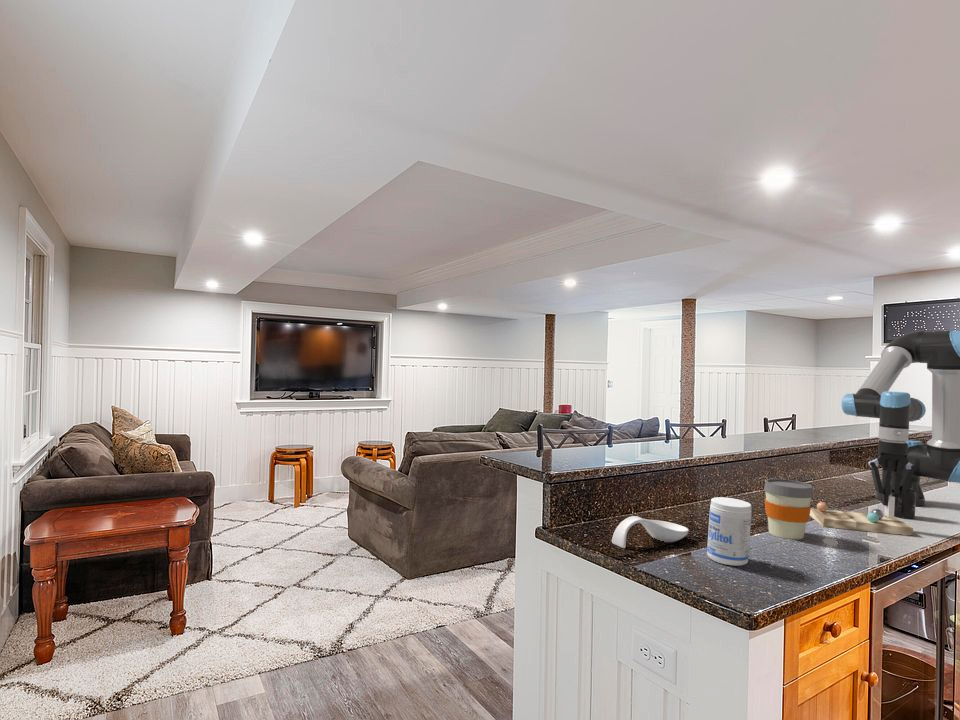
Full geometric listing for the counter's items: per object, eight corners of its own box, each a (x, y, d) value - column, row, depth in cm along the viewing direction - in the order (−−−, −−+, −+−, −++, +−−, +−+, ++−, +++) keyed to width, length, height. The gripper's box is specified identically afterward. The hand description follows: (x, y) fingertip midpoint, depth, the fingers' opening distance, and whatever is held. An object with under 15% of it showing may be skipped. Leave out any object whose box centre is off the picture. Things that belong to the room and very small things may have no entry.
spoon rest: (663, 530, 164) (664, 506, 164) (697, 543, 154) (698, 516, 154) (602, 540, 153) (603, 514, 152) (634, 555, 142) (635, 526, 142)
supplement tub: (701, 559, 141) (704, 500, 140) (713, 550, 148) (716, 494, 148) (742, 570, 134) (745, 509, 134) (753, 560, 142) (756, 502, 141)
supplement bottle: (919, 520, 188) (921, 484, 188) (896, 518, 189) (898, 482, 189) (908, 514, 194) (909, 480, 194) (885, 512, 196) (887, 478, 196)
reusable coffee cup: (792, 543, 157) (795, 489, 156) (752, 530, 168) (755, 480, 168) (820, 538, 162) (822, 486, 162) (779, 525, 174) (782, 477, 173)
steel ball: (880, 518, 178) (881, 508, 178) (885, 521, 175) (885, 510, 175) (868, 517, 179) (869, 507, 179) (873, 520, 176) (873, 509, 176)
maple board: (892, 523, 182) (892, 516, 182) (912, 536, 169) (913, 527, 169) (809, 515, 187) (810, 508, 187) (823, 526, 175) (823, 518, 175)
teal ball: (876, 521, 174) (876, 511, 174) (880, 524, 171) (880, 514, 171) (865, 520, 175) (865, 510, 175) (869, 523, 172) (869, 513, 172)
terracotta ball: (825, 510, 185) (825, 501, 185) (828, 513, 182) (829, 503, 182) (815, 509, 185) (815, 500, 185) (818, 512, 182) (818, 502, 182)
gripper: (874, 441, 174) (870, 517, 174) (923, 444, 171) (919, 522, 171) (864, 437, 181) (860, 511, 181) (911, 441, 178) (907, 515, 178)
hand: (889, 516), depth 176 cm, fingers closed
